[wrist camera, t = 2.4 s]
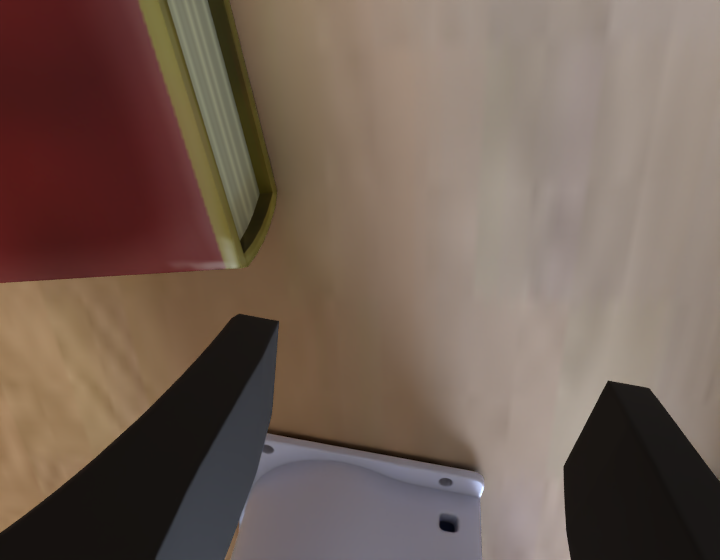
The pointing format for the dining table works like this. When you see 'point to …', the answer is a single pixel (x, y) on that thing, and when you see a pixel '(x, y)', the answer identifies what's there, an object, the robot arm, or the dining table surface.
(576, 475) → the robot arm
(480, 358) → the dining table surface
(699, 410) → the dining table surface
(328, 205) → the dining table surface
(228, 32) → the hardcover book
